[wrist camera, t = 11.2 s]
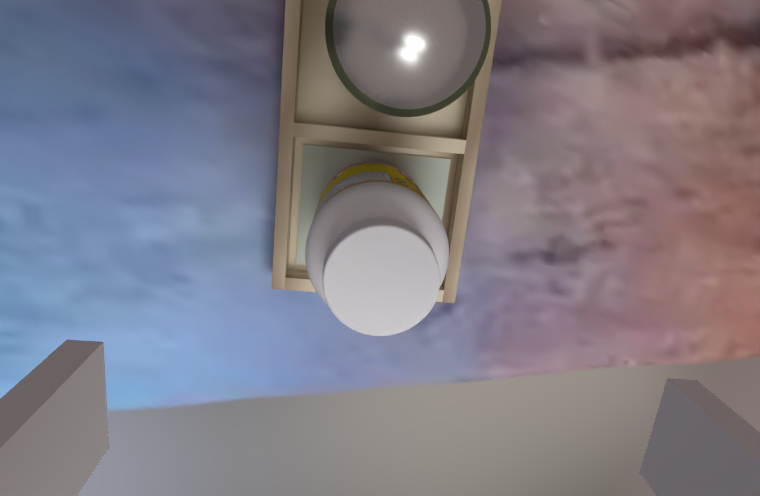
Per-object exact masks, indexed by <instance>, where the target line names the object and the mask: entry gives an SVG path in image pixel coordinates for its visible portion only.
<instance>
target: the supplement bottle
mask: <svg viewBox="0 0 760 496" xmlns="http://www.w3.org/2000/svg"><path fill="white" fill-rule="evenodd" d="M305 261H306V267H307V272H308V275H309V278H310V281H311V283H312V285H313V287H314V289H315V290H316V292H317V293H318V295H319V296H320V298H321V299H322V300H323V301H324V302H325V303H326V304H327V305H328V306H329V307H330V309H331V311H332V312H333V313H334V315H335V316H336V317H337V318H338V319H339V320H340V321H341V322H342V323H343V324H345V325H346V326H348V327H349V328H351V329H353V330H355V331H357V332H360V333H363V334H368V335H373V336H388V335H394V334H397V333H400V332H403V331H405V330H408V329H409V328H411V327H413V326H415V325H416V324H417V323H419V322H420V321H421V320H422V319H423V318H424V317H425V316H426V315H427V314H428V313H429V312H430V310H431V309H432V307H433V305H434V303H435V301H436V299H437V297H438V293H439V289H440V286H441V284H442V282H443V280H444V278H445V275H446V271H447V268H448V261H449V244H448V238H447V234H446V231H445V228H444V225H443V223H442V221H441V219H440V218H439V216H438V214H437V213H436V211H435V210H434V209H433V207H432V206H431V204H430V203H429V201H428V200H427V199H426V197H425V196H424V194H423V193H422V191H421V190H420V189H419V187H418V186H417V185H416V183H415V182H414V181H413V180H412V179H411V178H410V177H409V176H408V175H407V174H406V173H405V172H403V171H402V170H400V169H399V168H397V167H395V166H393V165H390V164H387V163H384V162H378V161H366V162H360V163H356V164H353V165H350V166H348V167H346V168H344V169H343V170H341V171H340V172H338V173H337V174H336V175H335V176H334V177H333V178H332V179H331V180H330V181H329V182H328V184H327V185H326V187H325V188H324V190H323V192H322V194H321V197H320V199H319V202H318V205H317V208H316V212H315V215H314V218H313V221H312V224H311V227H310V229H309V233H308V236H307V240H306V247H305Z"/></svg>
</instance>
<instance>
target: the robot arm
mask: <svg viewBox="0 0 760 496" xmlns="http://www.w3.org/2000/svg"><path fill="white" fill-rule="evenodd" d="M107 423H108V422H107V402H106V383H105V364H104V345H103V342H94V341H79V340H66V341H65V342H64V343H63V344H62V345H60V346H59V347H58V348H57V349H56V350H55V351H54V352H53V353H52V354H50V355H49V356H48V357H47V358H46V359H45V360H44V361H43V362H41V363H40V364H39V365H38V366H37V367H36V368H35V369H34V370H32V371H31V372H30V373H29V374H28V375H27V376H26V377H25V378H23V379H22V380H21V381H20V382H19V383H18V384H17V385H16V386H14V387H13V388H12V389H11V390H10V391H9V392H8V393H7V394H5V395H4V396H3V397H2V398H1V399H0V496H77V495H78V493H79V492H80V490H81V489H82V487H83V486H84V484H85V483H86V481H87V480H88V478H89V477H90V475H91V474H92V472H93V471H94V469H95V468H96V466H97V465H98V463H99V462H100V460H101V459H102V457H103V456H104V454H105V453H106V451H107V450H108V448H109V442H108V424H107ZM640 475H641V476H642V477H643V479H644V480H645V481H646V483H647V484H648V485H649V487H650V488H651V489H652V490H653V492H654V493H655V494H656V496H760V433H759V432H758V431H757V430H756V429H755V428H753V426H751V425H750V424H749V423H747V422H746V421H745V420H744V419H743V418H742V417H740V416H739V415H738V414H737V413H736V412H734V411H733V410H732V409H731V408H730V407H728V406H727V405H726V404H725V403H724V402H722V401H721V400H720V399H719V398H718V397H716V396H715V395H714V394H713V393H711V392H710V391H709V390H708V389H707V388H705V387H704V386H703V385H702V384H701V383H700V382H698V381H697V380H682V379H667V381H666V385H665V389H664V392H663V395H662V399H661V402H660V405H659V408H658V412H657V415H656V419H655V422H654V425H653V429H652V432H651V435H650V439H649V442H648V446H647V449H646V452H645V456H644V459H643V462H642V466H641V469H640Z"/></svg>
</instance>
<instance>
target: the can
mask: <svg viewBox="0 0 760 496" xmlns="http://www.w3.org/2000/svg"><path fill="white" fill-rule="evenodd" d="M490 37H491V15H490V9H489V4H488V0H329V2H328V6H327V10H326V18H325V38H326V46H327V50H328V54H329V58H330V60H331V63H332V66H333V68H334V70H335V72H336V74H337V76H338V77H339V79H340V80H341V82H342V83H343V85H344V86H345V87H346V88H347V89H348V91H349V92H350V93H351V94H352V95H353V96H354V97H356V98H357V99H358V100H359V101H360V102H362V103H363V104H365V105H366V106H368V107H370V108H372V109H374V110H376V111H378V112H381V113H384V114H387V115H391V116H397V117H417V116H423V115H427V114H431V113H433V112H436V111H439V110H441V109H443V108H445V107H446V106H448V105H450V104H451V103H453V102H454V101H455V100H457V99H458V98H459V97H460V96H461V95H462V94H463V93H465V92H466V91H467V89H468V88H469V87H470V86H471V85H472V83H473V82H474V80H475V79H476V77H477V76H478V74H479V72H480V70H481V68H482V66H483V64H484V62H485V59H486V56H487V53H488V48H489V44H490Z"/></svg>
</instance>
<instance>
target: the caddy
mask: <svg viewBox="0 0 760 496" xmlns="http://www.w3.org/2000/svg"><path fill="white" fill-rule="evenodd" d="M328 2H329V0H286V4H285V24H284V45H283V65H282V86H281V106H280V127H279V147H278V168H277V188H276V209H275V229H274V250H273V270H272V289H283V290H296V291H308V292H316V290H315V289H314V287H313V285H312V283H311V281H310V278H309V275H308V272H307V267H306V261H305V247H306V240H307V236H308V233H309V229H310V227H311V224H312V221H313V218H314V215H315V212H316V208H317V205H318V202H319V199H320V197H321V194H322V192H323V190H324V188H325V187H326V185H327V184H328V182H329V181H330V180H331V179H332V178H333V177H334V176H335V175H336V174H337V173H338V172H340V171H341V170H343V169H344V168H346V167H348V166H350V165H353V164H356V163H360V162H366V161H378V162H384V163H387V164H390V165H393V166H395V167H397V168H399V169H400V170H402V171H403V172H405V173H406V174H407V175H408V176H409V177H410V178H411V179H412V180H413V181H414V182H415V183H416V185H417V186H418V187H419V189H420V190H421V191H422V193H423V194H424V196H425V197H426V199H427V200H428V201H429V203H430V204H431V206H432V207H433V209H434V210H435V211H436V213H437V214H438V216H439V218H440V219H441V221H442V223H443V225H444V228H445V231H446V234H447V238H448V244H449V261H448V268H447V271H446V275H445V278H444V280H443V282H442V284H441V286H440V289H439V293H438V297H437V299H436V301H435V302H447V303H455V297H456V291H457V284H458V278H459V272H460V265H461V259H462V252H463V246H464V240H465V233H466V227H467V220H468V214H469V208H470V201H471V195H472V188H473V182H474V176H475V169H476V163H477V156H478V150H479V144H480V137H481V131H482V124H483V118H484V112H485V105H486V99H487V92H488V86H489V80H490V73H491V67H492V60H493V54H494V48H495V41H496V35H497V28H498V22H499V16H500V9H501V3H502V0H488V4H489V9H490V15H491V37H490V44H489V48H488V53H487V56H486V59H485V62H484V64H483V66H482V68H481V70H480V72H479V74H478V76H477V77H476V79H475V80H474V82H473V83H472V85H471V86H470V87H469V88H468V89H467V91H466V92H465V93H463V94H462V95H461V96H460V97H459V98H458V99H457V100H455V101H454V102H453V103H451V104H450V105H448V106H446V107H445V108H443V109H441V110H439V111H436V112H433V113H431V114H427V115H423V116H417V117H397V116H391V115H387V114H384V113H381V112H378V111H376V110H374V109H372V108H370V107H368V106H366V105H365V104H363V103H362V102H360V101H359V100H358V99H357V98H356V97H354V96H353V95H352V94H351V93H350V92H349V91H348V89H347V88H346V87H345V86H344V85H343V83H342V82H341V80H340V79H339V77H338V76H337V74H336V72H335V70H334V68H333V66H332V63H331V60H330V58H329V54H328V50H327V46H326V38H325V18H326V10H327V6H328Z"/></svg>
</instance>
